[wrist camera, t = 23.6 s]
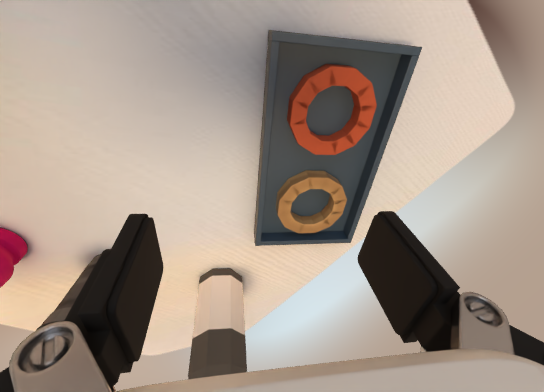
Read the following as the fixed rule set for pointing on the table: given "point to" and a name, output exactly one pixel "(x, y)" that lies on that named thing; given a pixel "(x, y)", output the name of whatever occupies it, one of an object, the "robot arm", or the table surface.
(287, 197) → the birch ring
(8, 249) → the pepper mill
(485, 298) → the robot arm
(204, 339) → the wine bottle
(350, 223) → the tray
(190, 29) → the table surface
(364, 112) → the terracotta ring
